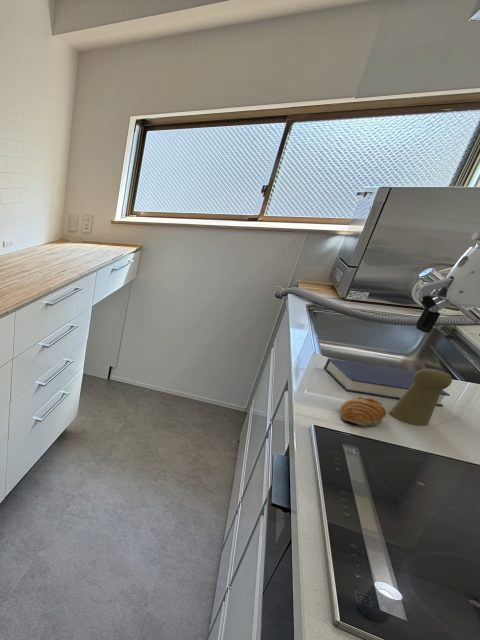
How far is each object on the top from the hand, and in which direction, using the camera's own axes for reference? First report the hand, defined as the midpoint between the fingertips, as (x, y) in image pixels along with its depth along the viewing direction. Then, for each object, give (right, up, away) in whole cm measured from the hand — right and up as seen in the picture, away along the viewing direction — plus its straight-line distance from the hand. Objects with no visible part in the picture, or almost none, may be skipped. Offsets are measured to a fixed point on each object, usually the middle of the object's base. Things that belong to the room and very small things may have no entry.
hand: (453, 334), depth 79 cm
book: (+7, -10, +22) cm, 25 cm away
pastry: (-12, -17, +7) cm, 22 cm away
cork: (0, -17, +8) cm, 19 cm away
